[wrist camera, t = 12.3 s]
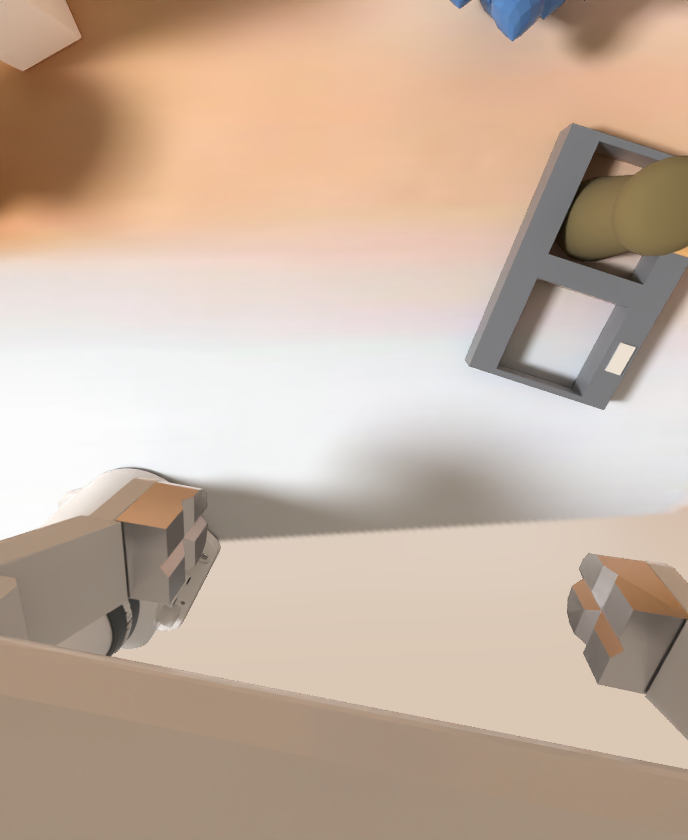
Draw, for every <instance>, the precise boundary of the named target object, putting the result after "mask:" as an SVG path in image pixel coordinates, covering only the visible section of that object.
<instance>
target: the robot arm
mask: <svg viewBox="0 0 688 840" xmlns="http://www.w3.org/2000/svg"><path fill="white" fill-rule="evenodd" d="M206 507H207V493H206V492H205V490H204V489H202V488H196V487H191V486H186V485H180V484H175V483H170V482H168V481H167V480H165V479H163V478H161V477H159V476H157V475H155V474H153V473H150V472H147V471H143V470H138V469H131V468H121V469H114V470H110V471H107V472H105V473H103V474H101V475H99V476H97V477H96V478H95V479H94V480H93V481H91V482H90V483H89V484H88V485H87V486H85V487H84V488H80V489H76V490H72V491H69V492H67V493H65V494H64V495H63V496H62V497H61V498H60V499H59V509H58V510H57V511H56V512H55V513H54V514H53V515H52V516H51V517H49V518H48V519H47V520H46V521H45V522H44V523H43V524H42V525H41V526H40V527H39V528H38V529H36V530H33V531H29V532H26V533H23V534H20V535H17V536H14V537H11V538H7V539H4V540H1V541H0V840H688V769H682V768H678V767H672V766H667V765H662V764H657V763H652V762H647V761H642V760H637V759H631V758H626V757H621V756H616V755H611V754H606V753H601V752H596V751H591V750H586V749H581V748H576V747H571V746H566V745H561V744H556V743H551V742H546V741H540V740H535V739H530V738H525V737H520V736H515V735H510V734H504V733H500V732H495V731H490V730H485V729H480V728H475V727H470V726H465V725H459V724H454V723H449V722H444V721H439V720H433V719H429V718H423V717H418V716H413V715H408V714H403V713H398V712H393V711H388V710H382V709H377V708H372V707H367V706H362V705H357V704H351V703H346V702H341V701H336V700H331V699H326V698H321V697H315V696H310V695H305V694H300V693H295V692H290V691H284V690H279V689H275V688H269V687H264V686H259V685H254V684H249V683H243V682H238V681H234V680H228V679H223V678H218V677H213V676H208V675H203V674H198V673H193V672H187V671H182V670H177V669H172V668H167V667H162V666H157V665H151V664H147V663H141V662H136V661H131V660H126V659H121V658H116V657H111V655H112V654H113V653H116V652H117V651H118V650H119V649H120V648H123V649H133V648H138V647H141V646H144V645H145V644H147V643H148V641H149V640H150V638H151V637H152V635H153V634H154V632H155V631H156V630H158V631H160V630H161V631H168V630H174V629H177V628H179V627H180V625H181V624H182V622H183V621H184V619H185V617H186V615H187V613H188V612H189V610H190V608H191V606H192V603H193V602H194V600H195V598H196V596H197V594H198V592H199V590H200V588H201V586H202V584H203V582H204V580H205V579H206V577H207V575H208V573H209V571H210V569H211V567H212V565H213V563H214V561H215V559H216V557H217V555H218V553H219V551H220V543H219V542H218V540H217V539H216V538H215V537H214V536H213V535H212V534H211V533H210V532H209V531H208V530H207V522H206V521H205V520H204V518H203V517H202V515H201V514H202V513H203V511H204V510H205V509H206ZM204 554H206V555H207V556H206V555H204ZM579 570H580V572H581V575H582V577H583V579H582V580H581V581H579V582H577V583H576V584H574V585H573V586H572V588H571V591H570V594H569V597H568V605H567V606H568V608H567V614H568V618H569V623H570V625H571V627H572V630H573V632H574V634H575V635H576V636H577V637H579V638H580V639H581V640H582V641H583V642H584V643H585V644H586V648H585V650H584V652H583V653H584V656H585V658H586V660H587V662H588V664H589V666H590V668H591V671H592V673H593V675H594V677H595V679H596V681H597V683H598V684H600V685H605V686H609V687H614V688H618V689H624V690H628V691H633V692H637V693H642V694H646V696H645V697H646V698H647V699H648V700H649V701H650V702H651V703H652V704H653V705H654V706H655V707H656V708H657V709H658V710H659V711H660V712H661V713H662V714H663V715H664V716H665V717H666V718H667V719H668V720H669V721H670V722H671V723H672V724H673V725H674V726H675V727H676V728H677V729H678V730H679V731H680V732H681V733H682V734H683V736H684V737H685V738H687V740H688V583H687V582H686V581H685V580H684V579H683V578H682V576H681V575H680V574H679V573H678V572H677V571H676V570H675V569H674V568H673V567H671V566H669V565H667V564H663V563H654V562H646V561H637V560H630V559H624V558H617V557H610V556H603V555H596V554H590V553H589V554H587V556H586V557H585V558H584V559H583V561H582V563H581V565H580V568H579Z"/></svg>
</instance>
